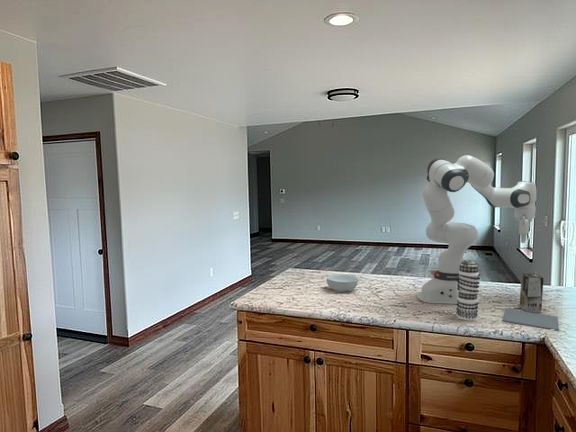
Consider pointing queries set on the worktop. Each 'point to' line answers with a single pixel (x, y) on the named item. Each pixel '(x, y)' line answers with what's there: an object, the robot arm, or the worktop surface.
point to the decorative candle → (468, 290)
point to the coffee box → (531, 292)
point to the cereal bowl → (342, 282)
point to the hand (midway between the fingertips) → (523, 241)
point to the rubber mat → (531, 319)
